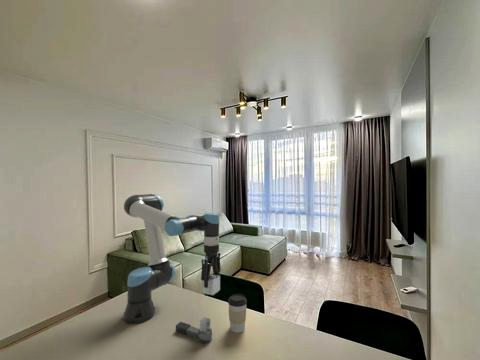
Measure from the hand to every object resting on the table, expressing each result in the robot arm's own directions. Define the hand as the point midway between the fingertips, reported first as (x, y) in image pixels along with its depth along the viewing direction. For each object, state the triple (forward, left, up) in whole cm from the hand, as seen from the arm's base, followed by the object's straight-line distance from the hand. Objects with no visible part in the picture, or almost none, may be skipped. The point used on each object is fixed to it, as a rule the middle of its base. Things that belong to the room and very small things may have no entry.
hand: (211, 290), depth 113 cm
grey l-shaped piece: (-2, -11, -16) cm, 20 cm away
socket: (0, 0, 0) cm, 0 cm away
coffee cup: (+14, +2, -16) cm, 21 cm away
